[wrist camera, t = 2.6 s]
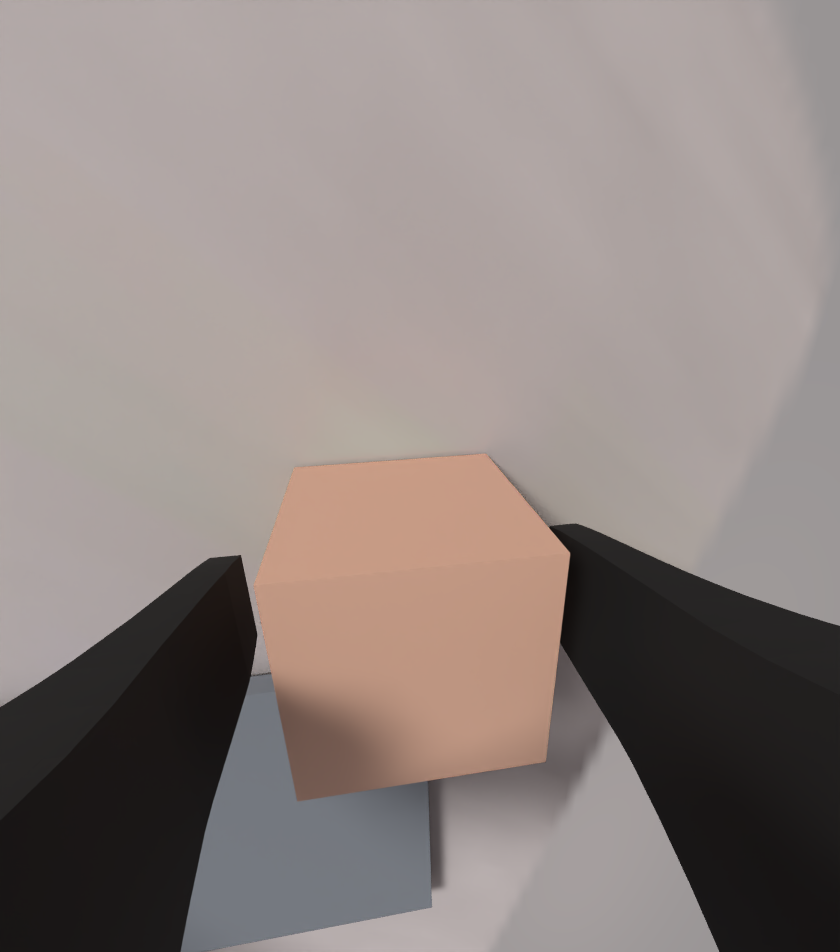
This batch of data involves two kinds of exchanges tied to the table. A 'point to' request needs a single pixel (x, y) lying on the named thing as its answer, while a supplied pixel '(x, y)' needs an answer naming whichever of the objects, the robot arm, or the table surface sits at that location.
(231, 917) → the mat
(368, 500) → the cube
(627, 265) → the table surface
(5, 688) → the table surface
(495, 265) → the table surface
